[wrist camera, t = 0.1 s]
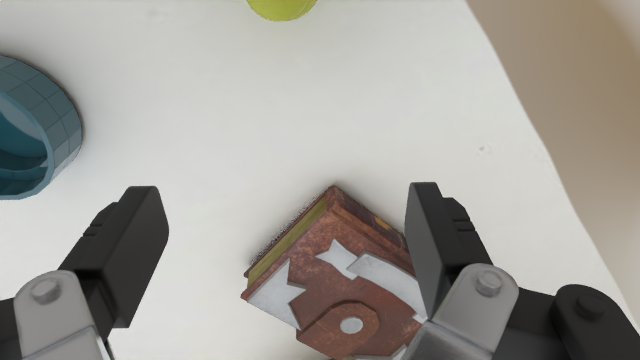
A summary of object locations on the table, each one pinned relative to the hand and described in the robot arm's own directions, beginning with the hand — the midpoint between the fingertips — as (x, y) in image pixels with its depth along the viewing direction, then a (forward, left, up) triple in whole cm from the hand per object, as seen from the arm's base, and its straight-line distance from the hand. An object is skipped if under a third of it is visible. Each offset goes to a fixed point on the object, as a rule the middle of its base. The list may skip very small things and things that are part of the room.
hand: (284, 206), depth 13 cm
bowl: (+6, -24, -21) cm, 33 cm away
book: (+27, +6, -22) cm, 35 cm away
